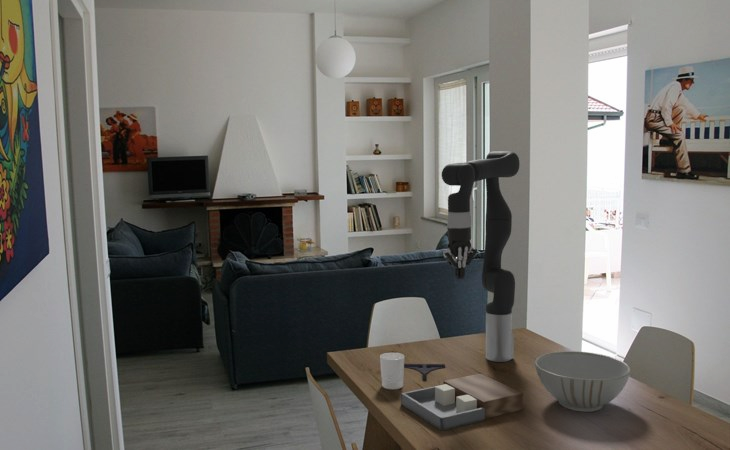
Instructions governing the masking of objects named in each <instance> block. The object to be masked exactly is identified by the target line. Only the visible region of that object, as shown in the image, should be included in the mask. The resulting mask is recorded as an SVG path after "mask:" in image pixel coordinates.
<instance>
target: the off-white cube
mask: <svg viewBox="0 0 730 450" xmlns="http://www.w3.org/2000/svg"><path fill="white" fill-rule="evenodd" d="M473 409H477V399H475V398H473V397H472V396H470V395H463V396H457V397H456V412H457V413H460V412H465V411H469V410H473Z"/></svg>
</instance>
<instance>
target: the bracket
mask: <svg viewBox="0 0 730 450" xmlns="http://www.w3.org/2000/svg"><path fill="white" fill-rule="evenodd" d="M405 368H406V369H411V370H414V371H418V372H419V373H421V375H422V381H428V380H427V377H428V375H427V374H428V373H430V372H432V371H437V370H441V369H446V364H445V363H404V369H405Z"/></svg>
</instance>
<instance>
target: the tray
mask: <svg viewBox="0 0 730 450" xmlns="http://www.w3.org/2000/svg"><path fill="white" fill-rule="evenodd" d="M435 386H436V385H435ZM435 386H429V387H425V388H419V389H415V390H411V391H404V392H401V393H400V405H401V406H402V407H404V408H405V409H408V411H411V412H412V413H414V414H415V415H416V416H418V417H420V418H421V419H423V420H425V421H426V422H428V423H429V424H431V425H432V426H433V427H435V428H437V429H438V430H440V431H446V430H451V429H454V428H459V427H462V426H463V427H464V426H466V425H472V424H475V423H479V422H482V421H485V408H483V407H482V408H478V409H473V410H469V411H465V412H460V413H457V412H456V402H455V403H453V404H449V405H445V406H443V405H442V404H440V403H438V402H436V401H435Z"/></svg>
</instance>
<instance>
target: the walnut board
mask: <svg viewBox="0 0 730 450" xmlns="http://www.w3.org/2000/svg"><path fill="white" fill-rule="evenodd" d="M444 384H447V385H449V386H451V387H453V388H455V402H456V397H457V396H463V395H470V396H472V397H473V398H475V399H477V409H478V408H482V407H483V408H485V419H491V418H494V417H497V416H501V415H506V414H510V413H514V412H515V413H516V412H519V411H523V394H524V393H523V392H521V391H519V390H518V389H517V390H516V389H514V388H512V387H510V386H508V385H506V384H504V383H501V382H499V381H498V380H495V379H492V378H491V377H489V376H487V375H484V374H482V373H477V374H472V375H471V374H470V375H467V376H461V377H455V378H451V379H447V380H443V385H444Z"/></svg>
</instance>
